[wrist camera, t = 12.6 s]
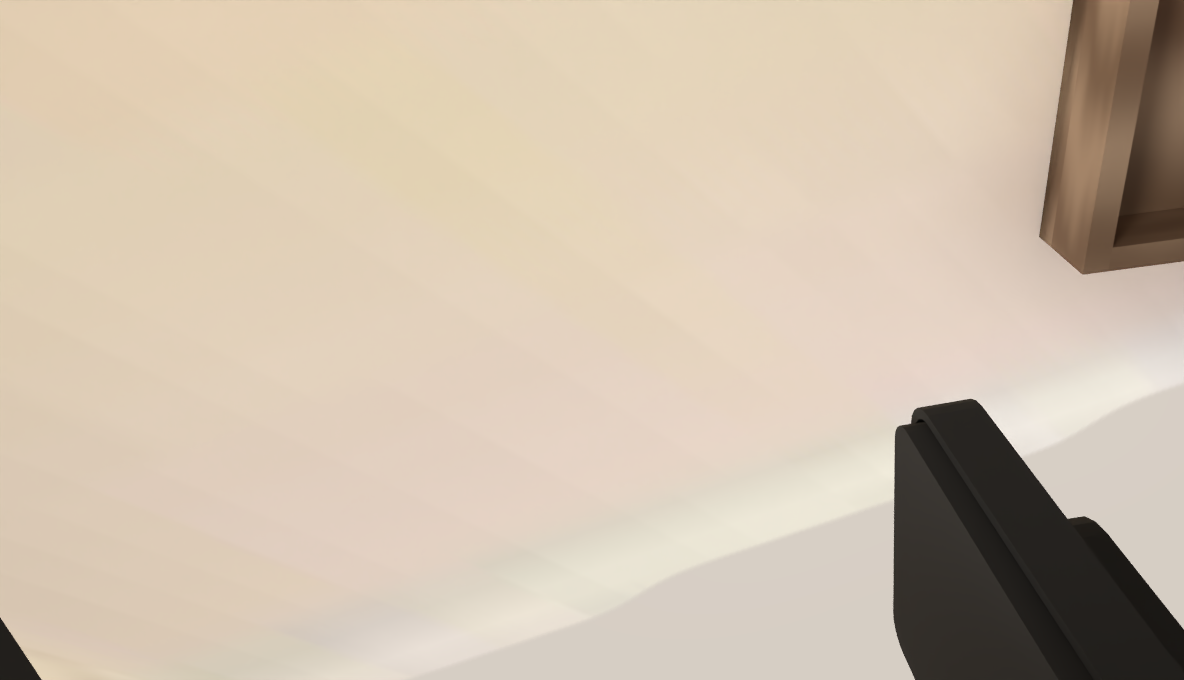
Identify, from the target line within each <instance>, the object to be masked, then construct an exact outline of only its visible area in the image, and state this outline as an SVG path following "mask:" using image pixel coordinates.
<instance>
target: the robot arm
mask: <svg viewBox="0 0 1184 680" xmlns="http://www.w3.org/2000/svg"><path fill="white" fill-rule="evenodd" d="M893 605H894V606H893V607H894V609H893V613H894V623H895V628H896V632H897V637H898V640H899V643H900V646H901V649H902V651H903V654H904V656H905V658H906V660H907V662H908V665H909V667H910V669H911V671H912V673H913V676H914V678H915V680H1184V629H1183V628H1182V627H1181V626H1180V624H1179V623H1178V622H1177V620H1176V619H1175V618H1174V617H1173V615H1172V614H1171V613H1170V612H1169V611H1168V609H1167V608H1166V607H1165V605H1164V604H1163V603H1162V602H1161V600H1160V599H1159V598H1158V597H1157V595H1156V594H1155V593H1154V592H1153V590H1152V589H1151V588H1150V587H1149V585H1148V584H1147V583H1146V582H1145V580H1144V579H1143V578H1142V577H1141V575H1140V574H1139V573H1138V571H1137V570H1136V569H1135V568H1134V566H1133V565H1132V564H1131V563H1130V561H1129V560H1128V559H1127V558H1126V557H1125V555H1124V554H1123V553H1122V551H1121V550H1120V549H1119V548H1118V546H1117V545H1116V544H1115V543H1114V541H1113V540H1112V539H1111V538H1110V536H1109V535H1108V534H1107V533H1106V532H1105V531H1104V530H1103V529H1102V528H1101V527H1100V526H1099V525H1098V524H1097V523H1096V522H1095V521H1093V520H1091V519H1089V518H1087V517H1077V518H1071V519H1067V518H1066V516H1065V515H1064V514H1063V513H1062V511H1061V510H1060V509H1059V508H1058V506H1057V505H1056V503H1055V502H1054V501H1053V499H1052V498H1051V497H1050V495H1049V494H1048V493H1047V492H1046V490H1045V489H1044V487H1043V486H1042V485H1041V483H1040V482H1039V481H1038V480H1037V478H1036V477H1035V476H1034V474H1033V473H1032V472H1031V470H1030V469H1029V468H1028V466H1027V465H1026V464H1025V462H1024V461H1023V460H1022V458H1021V457H1020V456H1019V454H1018V453H1017V452H1016V451H1015V449H1014V448H1013V447H1012V445H1011V444H1010V443H1009V441H1008V440H1007V439H1006V437H1005V436H1004V435H1003V433H1002V432H1001V431H1000V429H999V428H998V427H997V425H996V424H995V423H994V421H993V420H992V419H991V418H990V416H989V415H988V414H987V412H986V411H985V410H984V408H983V407H982V406H981V405H980V404H979V403H978V402H977V401H976V400H973V399H967V400H961V401H955V402H949V403H944V404H938V405H932V406H926V407H920V408H917V409H915V410H914V412H913V415H912V420H911V424H908V425H902V426H899V427H897V429H896V432H895V489H894V602H893ZM0 680H41V678H40V677H39V675H38V674H37V672H36V671H35V669H34V668H33V666H32V665H31V663H30V662H29V660H28V659H27V657H26V656H25V654H24V653H23V651H22V650H21V648H20V647H19V645H18V644H17V642H16V641H15V639H14V638H13V636H12V635H11V633H10V632H9V630H8V629H7V627H6V626H5V624H4V623H3V621H2V620H1V618H0Z"/></svg>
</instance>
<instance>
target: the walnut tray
mask: <svg viewBox="0 0 1184 680" xmlns="http://www.w3.org/2000/svg"><path fill="white" fill-rule="evenodd" d="M1039 237H1040V238H1041V239H1042V240H1044V241H1045V242H1046V243H1047V244H1048V245H1049V246H1050V247H1052V248H1053V249H1054V250H1055V251H1056V252H1057V253H1059V254H1060V255H1061V256H1062V257H1063V258H1064V259H1065V260H1067V261H1068V262H1069V263H1070V264H1071V265H1072V266H1073V267H1075V268H1076V269H1077V270H1078V271H1079V272H1080V273H1081V274H1090V273H1098V272H1105V271H1113V270H1121V269H1128V268H1136V267H1143V266H1151V265H1158V264H1166V263H1174V262H1181V261H1184V0H1073V7H1072V13H1071V20H1070V27H1069V34H1068V41H1067V48H1066V55H1065V62H1064V69H1063V76H1062V83H1061V90H1060V97H1059V104H1058V111H1057V118H1056V125H1055V131H1054V138H1053V145H1052V152H1051V159H1050V166H1049V173H1048V180H1047V187H1046V194H1045V201H1044V208H1043V215H1042V222H1041V229H1040V236H1039Z"/></svg>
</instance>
